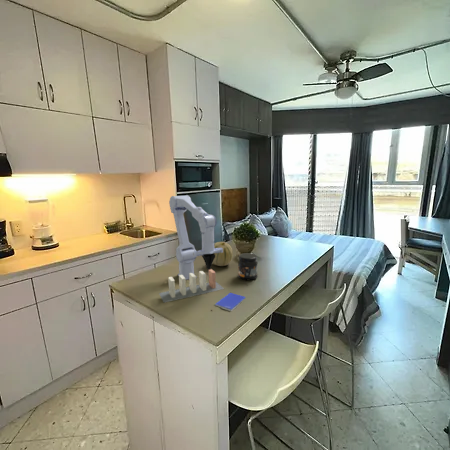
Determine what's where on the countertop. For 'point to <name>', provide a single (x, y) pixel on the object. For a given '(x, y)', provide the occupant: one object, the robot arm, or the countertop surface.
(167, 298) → the domino mat
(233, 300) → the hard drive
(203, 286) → the domino
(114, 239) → the countertop surface
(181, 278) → the domino
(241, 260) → the supplement container
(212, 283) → the salmon orange end domino
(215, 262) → the beige rounded lump
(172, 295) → the domino
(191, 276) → the domino
